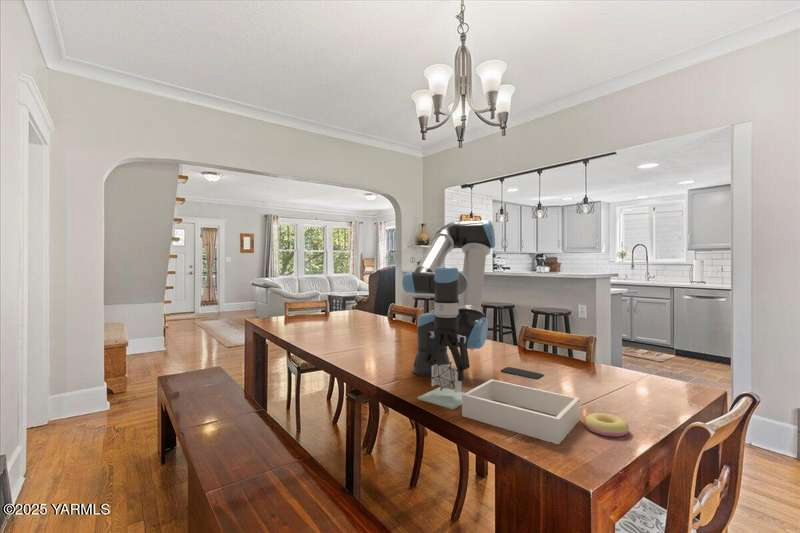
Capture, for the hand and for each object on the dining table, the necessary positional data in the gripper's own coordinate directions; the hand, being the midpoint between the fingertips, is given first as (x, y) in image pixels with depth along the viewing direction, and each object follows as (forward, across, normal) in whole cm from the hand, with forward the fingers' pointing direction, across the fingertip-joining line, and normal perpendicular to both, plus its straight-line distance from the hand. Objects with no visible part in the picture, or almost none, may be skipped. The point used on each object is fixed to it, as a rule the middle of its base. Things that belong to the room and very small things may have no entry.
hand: (446, 387), depth 120 cm
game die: (0, 0, 0) cm, 0 cm away
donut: (+4, +44, +7) cm, 45 cm away
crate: (+3, +24, 0) cm, 24 cm away
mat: (+3, 0, 0) cm, 3 cm away
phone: (+4, +8, +41) cm, 42 cm away
